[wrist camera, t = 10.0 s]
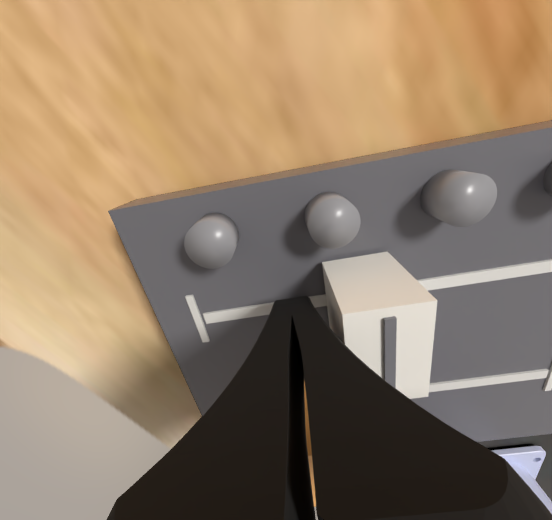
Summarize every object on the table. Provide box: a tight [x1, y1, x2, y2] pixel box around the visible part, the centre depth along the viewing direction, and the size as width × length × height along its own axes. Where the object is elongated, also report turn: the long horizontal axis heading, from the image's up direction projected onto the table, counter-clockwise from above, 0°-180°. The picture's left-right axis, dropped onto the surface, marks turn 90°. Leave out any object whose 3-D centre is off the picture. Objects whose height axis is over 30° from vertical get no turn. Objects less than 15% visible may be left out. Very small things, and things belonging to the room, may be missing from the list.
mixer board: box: [108, 120, 552, 442], centre depth 12 cm, size 16×19×3 cm
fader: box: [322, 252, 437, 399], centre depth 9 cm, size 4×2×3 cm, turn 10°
